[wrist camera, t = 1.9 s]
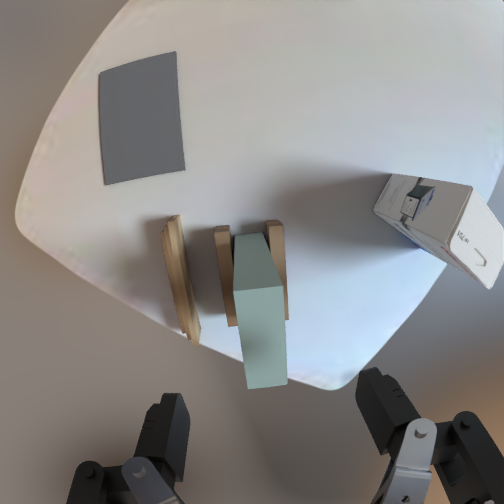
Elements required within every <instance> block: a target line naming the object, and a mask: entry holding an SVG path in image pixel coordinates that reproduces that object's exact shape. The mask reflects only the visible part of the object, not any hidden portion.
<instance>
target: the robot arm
mask: <svg viewBox="0 0 504 504" xmlns="http://www.w3.org/2000/svg"><path fill="white" fill-rule="evenodd" d="M355 396H356V402H357V405H358V407H359V409H360V411H361V413H362V416H363V418H364V420H365V422H366V424H367V426H368V429H369V431H370V433H371V435H372V437H373V439H374V442H375V444H376V446H377V448H378V450H379V453H380V455H384V454H387V453H389V454H390V456H391V458H390V460H389V463H388V465H387V468H386V471H385V473H384V476H383V478H382V481H381V483H380V486H379V488H378V490H377V492H376V494H375V496H374V497H373V499H372V501H371V503H370V504H423V503H424V501H425V498H426V494H427V491H428V487H429V484H430V481H431V476H432V472H431V471H429V468H430V465H432V464H433V465H434V467H435V469H436V472H437V474H438V476H439V478H440V480H441V483H442V485H443V487H444V490H445V492H446V494H447V496H448V499H449V501H450V504H504V457H503V456H502V454H501V452H500V451H499V449H498V447H497V446H496V444H495V443H494V441H493V439H492V438H491V436H490V435H489V433H488V432H487V430H486V429H485V427H484V426H483V424H482V423H481V421H480V420H479V418H478V417H477V416H476V415H475V414H474V413H472V412H469V411H463V412H460V413H458V414H457V415H456V416H455V417H454V419H453V421H448V422H443V423H433V422H432V421H431V420H429V419H425V418H421V416H420V415H419V414H418V412H417V411H416V409H415V407H414V406H413V404H412V403H411V402H410V400H409V399H408V397H407V396H406V395H405V392H404V391H403V390H402V389H401V387H400V385H399V384H398V382H397V381H396V380H395V379H394V378H392V377H391V376H389V375H384V376H383V375H382V374H381V372H380V371H379V369H378V368H377V367H373V368H369V369H366V370H362V371H360V373H359V377H358V383H357V388H356V394H355ZM142 428H143V429H142V430H141V433H140V437H139V440H138V444H137V447H136V450H135V454H134V456H133V457H132V458H130V459H128V460H127V461H126V462H125V463H124V464H123V465H121V466H114V467H102V466H101V465H100V464H98V463H97V462H94V461H85V462H83V463H81V464H80V465H79V466H78V467H77V469H76V472H75V475H74V478H73V482H72V485H71V488H70V492H69V495H68V499H67V503H66V504H185V503H184V501H183V500H182V499H181V498H180V496H179V495H178V494H177V492H176V491H175V490H174V485H175V482H183V476H184V468H185V459H186V452H187V445H188V437H189V430H190V416H189V412H188V410H187V408H186V405H185V403H184V400H183V397H182V395H181V394H180V393H164V394H163V395H162V398H161V402H160V404H153V405H152V406H151V407H150V409H149V410H148V411H147V413H146V417H145V422H144V424H143V426H142Z"/></svg>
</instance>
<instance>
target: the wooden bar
mask: <svg viewBox="0 0 504 504" xmlns="http://www.w3.org/2000/svg"><path fill="white" fill-rule="evenodd" d="M167 223H168V224H167V225H166V226H165V227H164V230H163V231H162V232H161V239H162V244H163V249H164V255H165V260H166V265H167V270H168V274H169V279H170V284H171V288H172V293H173V297H174V301H175V306H176V310H177V314H178V318H179V322H180V326H181V330H182V333H186V334H187V338H188V340H192V342H193V346H194V347H196V346H199V339H200V332H201V326H200V321H199V317H198V312H197V308H196V303H195V298H194V293H193V288H192V283H191V277H190V272H189V267H188V261H187V255H186V250H185V244H184V237H183V231H182V225H181V218H180V215H175V216H174V217H173V218H171V219H170V220H169V221H168V222H167Z"/></svg>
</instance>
